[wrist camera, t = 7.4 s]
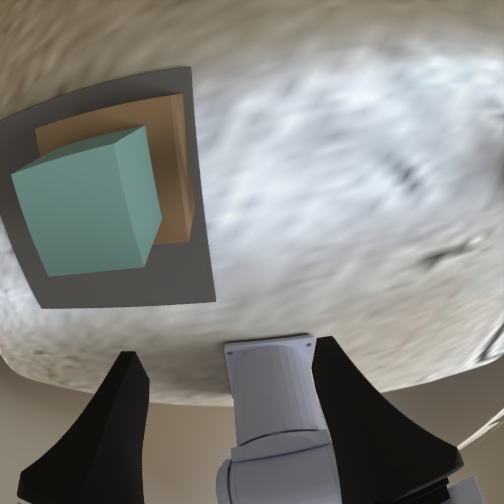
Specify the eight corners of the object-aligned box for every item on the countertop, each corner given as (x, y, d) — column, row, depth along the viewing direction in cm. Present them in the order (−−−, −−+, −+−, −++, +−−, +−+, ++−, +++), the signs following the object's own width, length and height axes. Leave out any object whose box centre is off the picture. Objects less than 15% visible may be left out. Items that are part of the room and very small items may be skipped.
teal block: (162, 218, 14) (144, 267, 10) (82, 230, 13) (48, 276, 10) (145, 125, 11) (113, 143, 8) (59, 147, 11) (10, 174, 8)
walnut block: (195, 208, 18) (188, 241, 14) (92, 220, 17) (68, 253, 14) (182, 93, 14) (170, 95, 11) (70, 117, 14) (35, 129, 10)
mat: (215, 298, 22) (216, 301, 22) (43, 305, 21) (41, 308, 21) (191, 67, 14) (190, 66, 13) (-17, 130, 13) (-20, 131, 12)
